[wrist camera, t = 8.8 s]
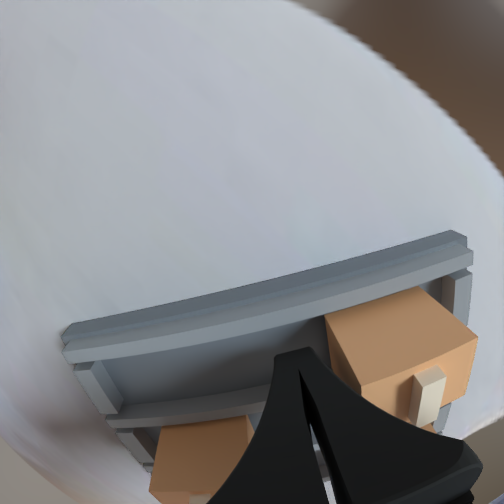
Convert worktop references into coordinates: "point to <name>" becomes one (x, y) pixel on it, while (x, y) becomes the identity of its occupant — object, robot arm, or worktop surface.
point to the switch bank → (244, 339)
